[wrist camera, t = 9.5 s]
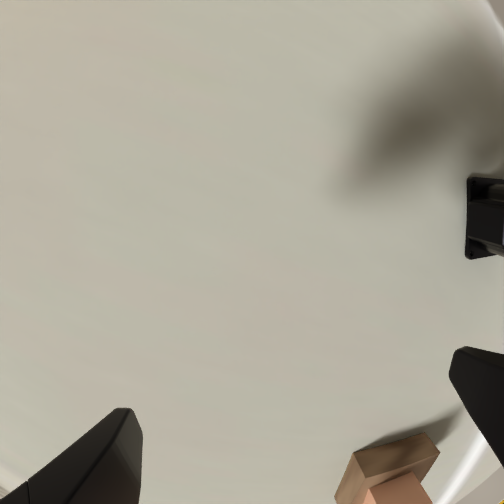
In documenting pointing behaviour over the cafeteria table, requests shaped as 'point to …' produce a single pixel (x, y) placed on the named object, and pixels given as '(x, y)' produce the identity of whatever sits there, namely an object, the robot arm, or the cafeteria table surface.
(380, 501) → the terracotta block
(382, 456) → the walnut block
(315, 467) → the cafeteria table surface
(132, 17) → the cafeteria table surface
